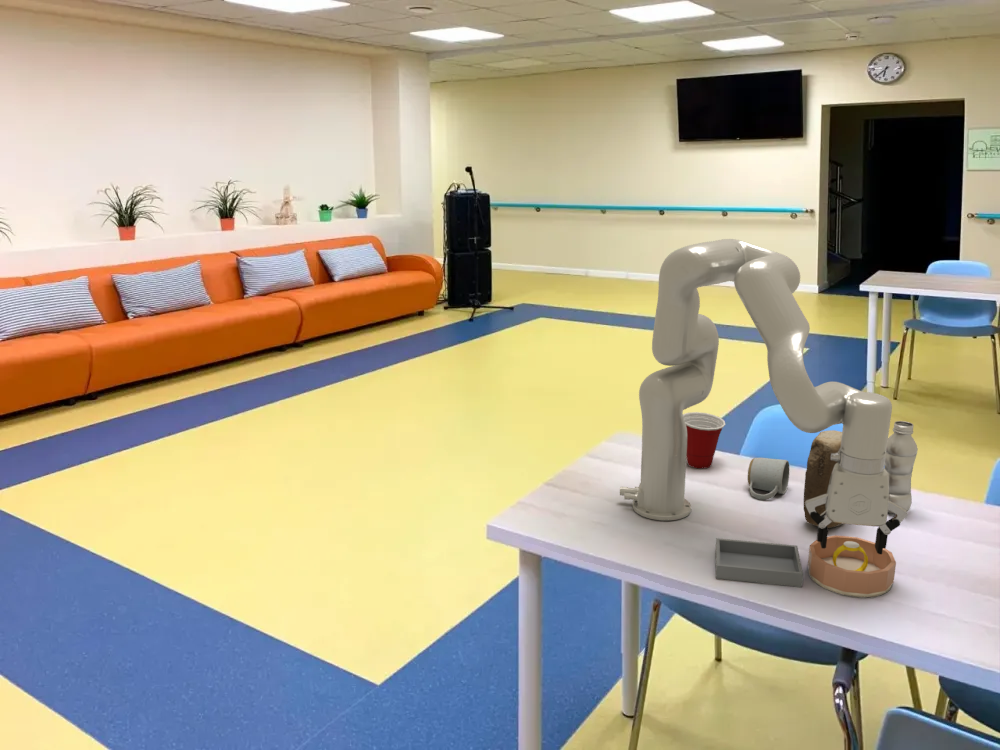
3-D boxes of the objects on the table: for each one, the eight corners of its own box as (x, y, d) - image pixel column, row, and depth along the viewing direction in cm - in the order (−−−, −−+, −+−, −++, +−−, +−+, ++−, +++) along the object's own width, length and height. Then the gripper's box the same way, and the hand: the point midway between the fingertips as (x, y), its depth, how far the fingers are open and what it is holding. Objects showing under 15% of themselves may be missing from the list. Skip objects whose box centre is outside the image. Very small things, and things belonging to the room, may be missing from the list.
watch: (834, 577, 160) (835, 548, 159) (831, 569, 163) (831, 541, 161) (868, 577, 159) (869, 547, 158) (864, 569, 162) (865, 540, 160)
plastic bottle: (902, 520, 184) (913, 431, 178) (870, 510, 189) (881, 423, 183) (915, 511, 188) (927, 424, 182) (884, 502, 193) (895, 416, 187)
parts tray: (715, 578, 161) (716, 565, 161) (715, 550, 172) (716, 538, 171) (801, 587, 158) (803, 573, 157) (796, 558, 168) (797, 545, 168)
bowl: (812, 592, 156) (815, 568, 155) (804, 555, 170) (806, 532, 168) (899, 601, 153) (902, 576, 152) (883, 562, 166) (886, 539, 165)
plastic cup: (709, 476, 208) (712, 429, 204) (669, 465, 215) (671, 419, 211) (730, 463, 215) (733, 417, 212) (691, 453, 222) (694, 408, 219)
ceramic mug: (753, 480, 205) (755, 450, 203) (788, 486, 201) (791, 456, 199) (741, 497, 196) (743, 466, 194) (778, 504, 193) (781, 472, 190)
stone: (828, 537, 177) (837, 445, 171) (795, 526, 182) (804, 436, 176) (854, 519, 185) (864, 430, 179) (822, 509, 189) (831, 422, 184)
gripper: (812, 465, 153) (803, 552, 158) (918, 474, 150) (905, 563, 155) (808, 450, 160) (799, 533, 165) (909, 458, 157) (896, 543, 162)
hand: (850, 547), depth 160 cm, fingers open, 9 cm apart
